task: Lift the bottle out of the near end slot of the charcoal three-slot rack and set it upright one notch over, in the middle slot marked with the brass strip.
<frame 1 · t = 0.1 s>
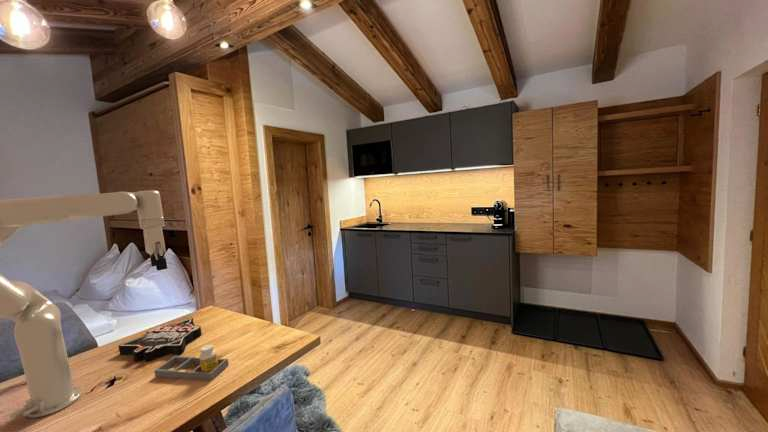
hand: (159, 267, 119), 37 cm above the table, tool pointing down, fingers open, 9 cm apart
wall plaque: (168, 343, 137), on the table
supplement bottle: (210, 372, 113), resting in slot rack
slot rack: (192, 370, 114), on the table
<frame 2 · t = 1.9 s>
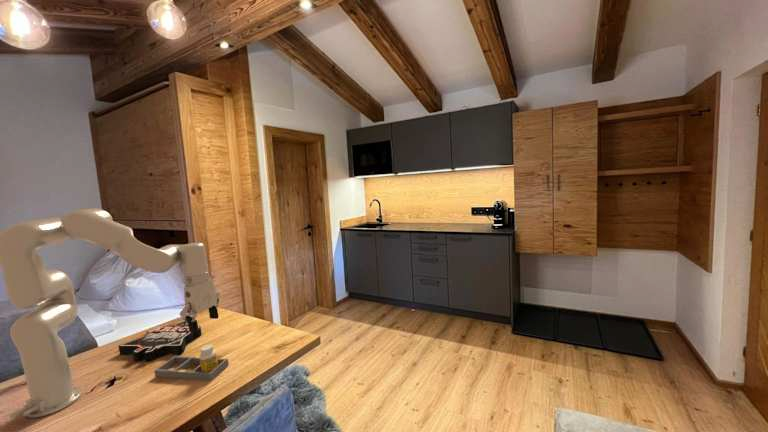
hand: (204, 324, 110), 18 cm above the table, tool pointing down, fingers open, 9 cm apart
nothing on the table moved.
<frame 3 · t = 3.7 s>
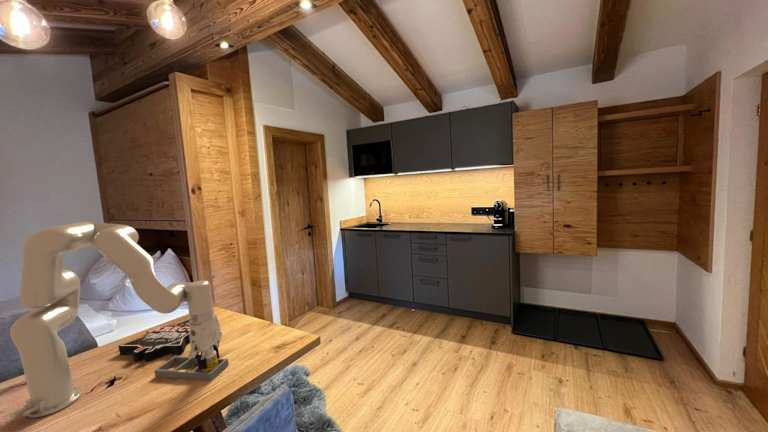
hand: (209, 362, 112), 4 cm above the table, tool pointing down, fingers closed on supplement bottle, 5 cm apart
supplement bottle: (210, 372, 113), resting in slot rack, touching gripper
everything else where it was.
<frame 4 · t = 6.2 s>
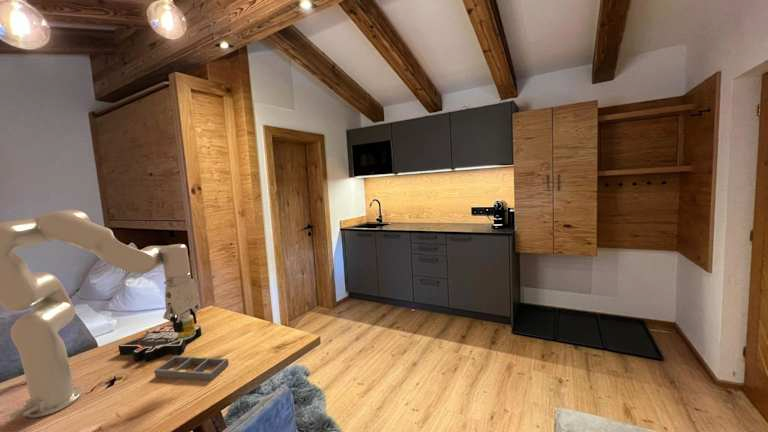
hand: (185, 327, 112), 17 cm above the table, tool pointing down, fingers closed on supplement bottle, 5 cm apart
supplement bottle: (187, 336, 112), point 13 cm above the table, touching gripper
everything else where it was.
when the fingers open (5 cm above the table, at t = 8.8 s): supplement bottle drops 1 cm, resting in slot rack.
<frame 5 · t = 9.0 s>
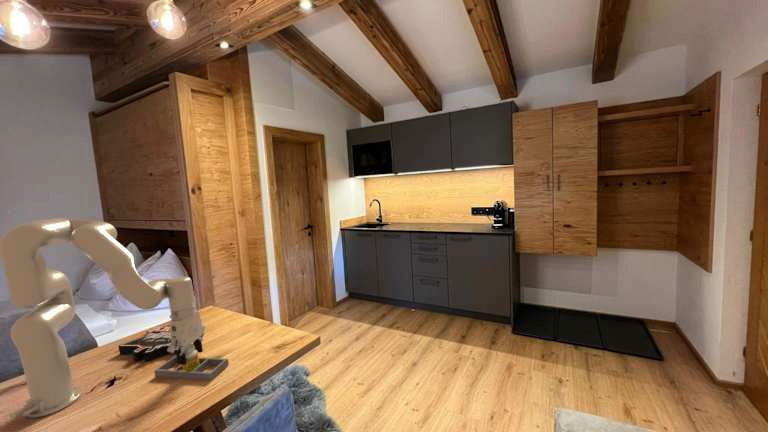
hand: (190, 357, 113), 5 cm above the table, tool pointing down, fingers open, 7 cm apart
supplement bottle: (191, 371, 114), resting in slot rack
everything else where it was.
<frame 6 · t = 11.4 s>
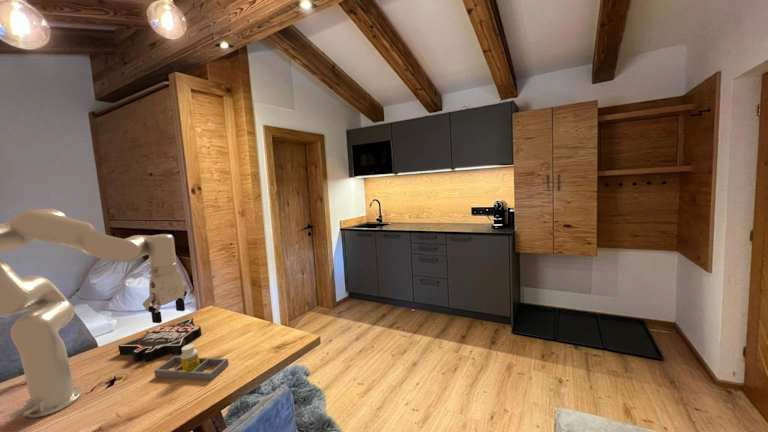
hand: (169, 316, 110), 22 cm above the table, tool pointing down, fingers open, 9 cm apart
nothing on the table moved.
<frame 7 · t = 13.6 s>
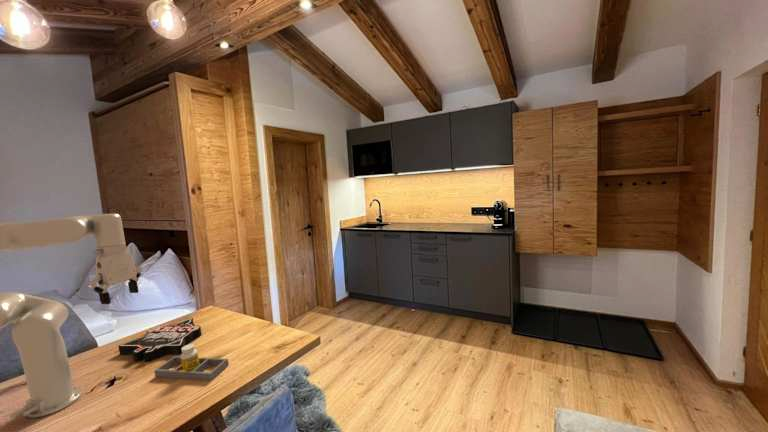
hand: (120, 297, 108), 30 cm above the table, tool pointing down, fingers open, 9 cm apart
nothing on the table moved.
at the end: supplement bottle 0.3 cm off-centre on the slot rack, point 0.0 cm above the slot rack's base; supplement bottle tilted 0°; the gripper is holding nothing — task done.
